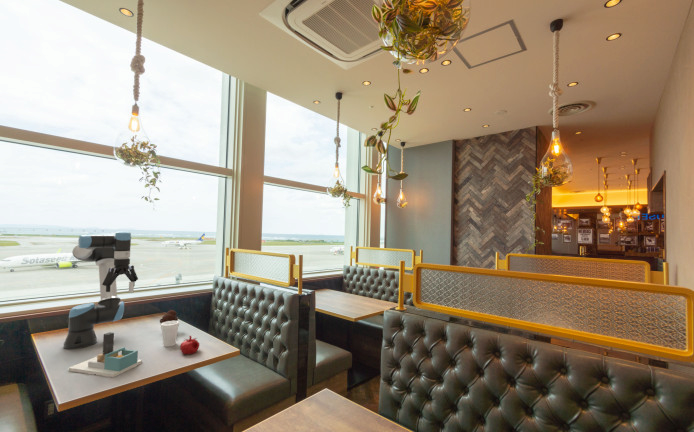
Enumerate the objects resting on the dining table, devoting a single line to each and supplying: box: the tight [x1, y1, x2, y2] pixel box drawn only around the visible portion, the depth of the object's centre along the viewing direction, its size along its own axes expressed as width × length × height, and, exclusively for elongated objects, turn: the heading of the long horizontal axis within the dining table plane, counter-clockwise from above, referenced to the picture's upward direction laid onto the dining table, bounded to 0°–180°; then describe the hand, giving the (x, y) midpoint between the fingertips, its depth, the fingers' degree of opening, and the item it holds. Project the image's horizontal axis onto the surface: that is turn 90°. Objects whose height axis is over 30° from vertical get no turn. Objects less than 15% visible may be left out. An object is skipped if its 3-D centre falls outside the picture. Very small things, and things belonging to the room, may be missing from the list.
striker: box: [96, 331, 119, 363], centre depth 157 cm, size 6×6×15 cm
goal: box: [104, 346, 139, 371], centre depth 155 cm, size 9×10×7 cm
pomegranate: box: [179, 335, 200, 355], centre depth 177 cm, size 10×10×9 cm
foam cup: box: [160, 321, 180, 348], centre depth 188 cm, size 10×9×13 cm
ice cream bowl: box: [159, 309, 179, 325], centre depth 208 cm, size 11×11×15 cm
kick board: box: [68, 356, 143, 378], centre depth 157 cm, size 27×16×4 cm, turn 78°
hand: (120, 295), depth 179 cm, fingers open, 13 cm apart
